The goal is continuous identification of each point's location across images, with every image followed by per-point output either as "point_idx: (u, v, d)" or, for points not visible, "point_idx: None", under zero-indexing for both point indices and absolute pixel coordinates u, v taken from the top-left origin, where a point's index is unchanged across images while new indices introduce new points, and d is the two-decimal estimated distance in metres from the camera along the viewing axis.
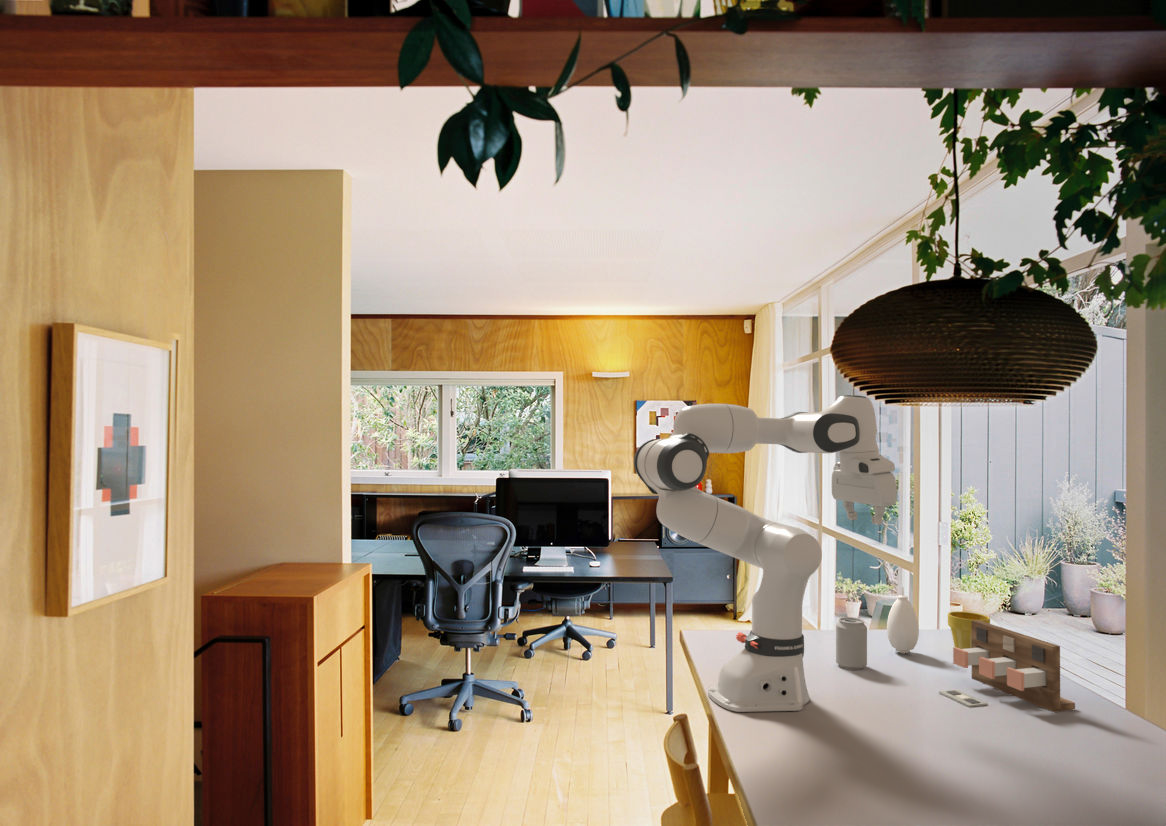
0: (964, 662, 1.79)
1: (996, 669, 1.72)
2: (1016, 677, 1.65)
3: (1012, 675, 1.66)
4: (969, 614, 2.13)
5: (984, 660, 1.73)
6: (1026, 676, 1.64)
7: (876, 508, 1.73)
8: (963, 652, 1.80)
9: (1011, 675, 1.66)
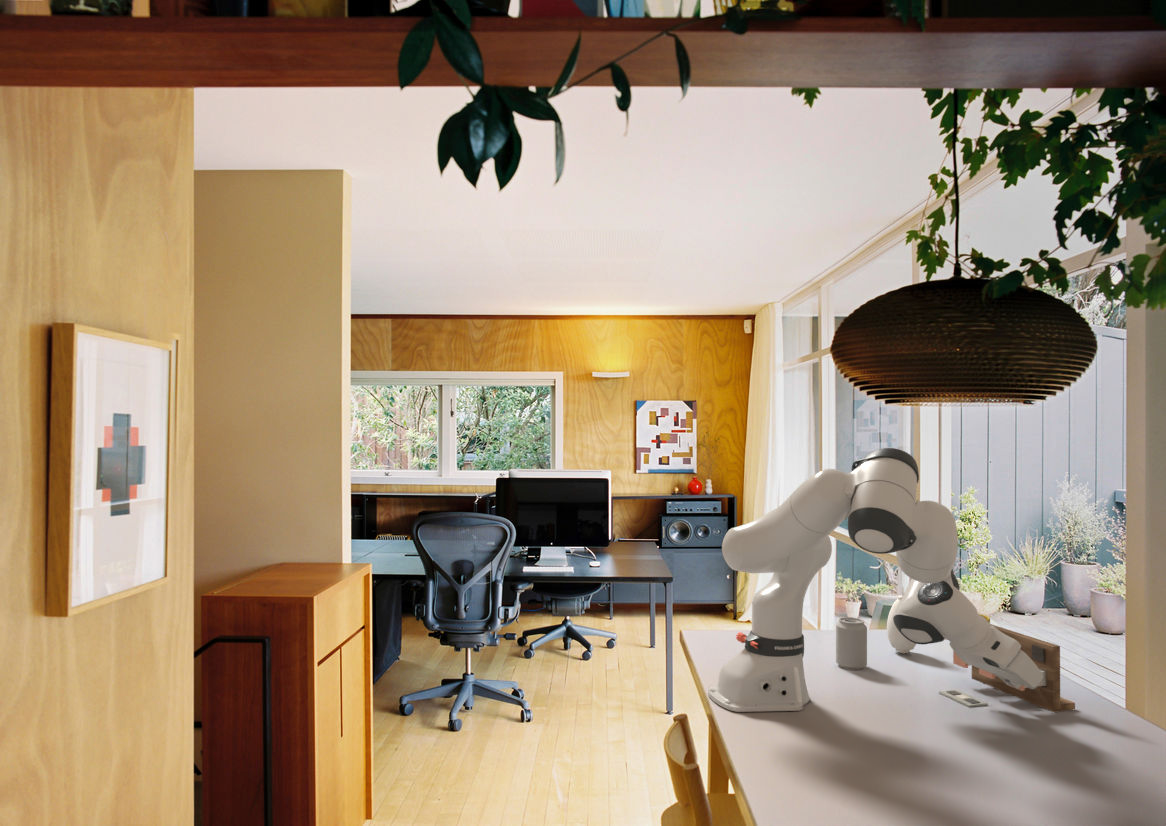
0: (964, 662, 1.79)
1: None
2: None
3: None
4: None
5: None
6: None
7: None
8: None
9: None
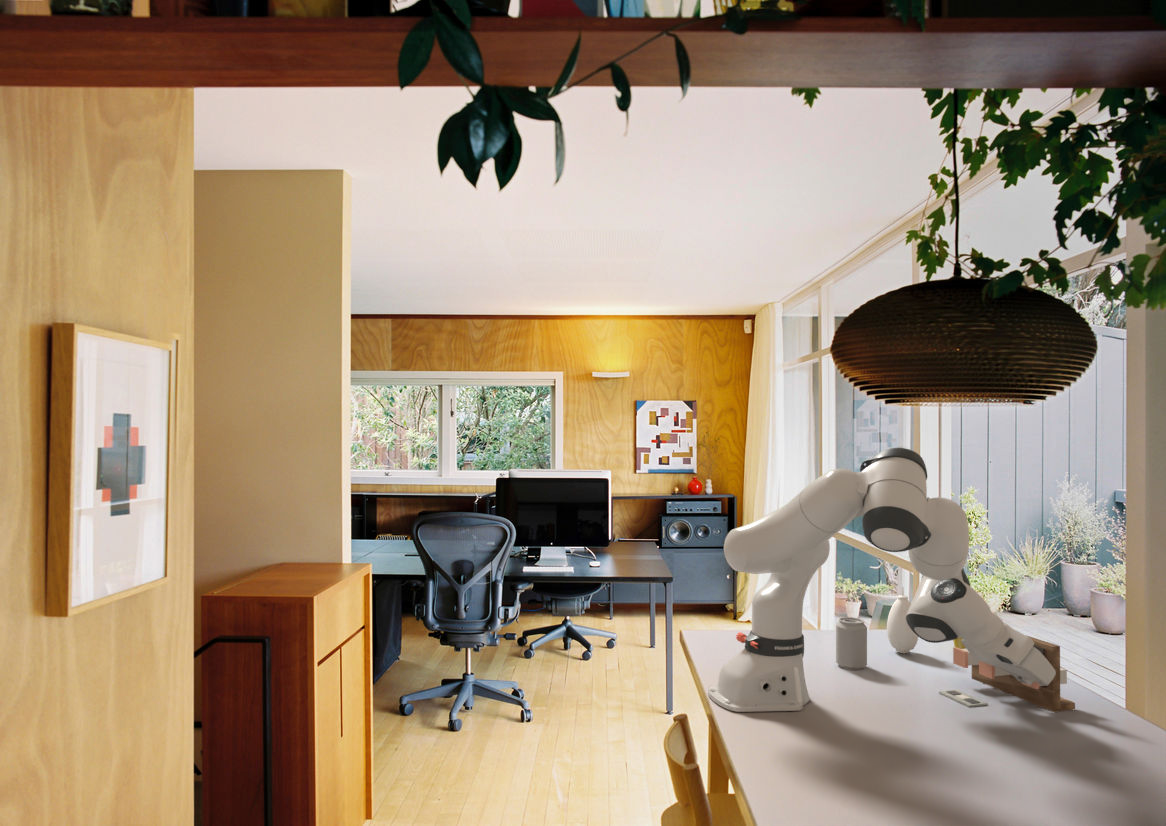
0: (964, 662, 1.79)
1: (996, 669, 1.72)
2: None
3: None
4: None
5: None
6: None
7: None
8: (963, 652, 1.80)
9: None
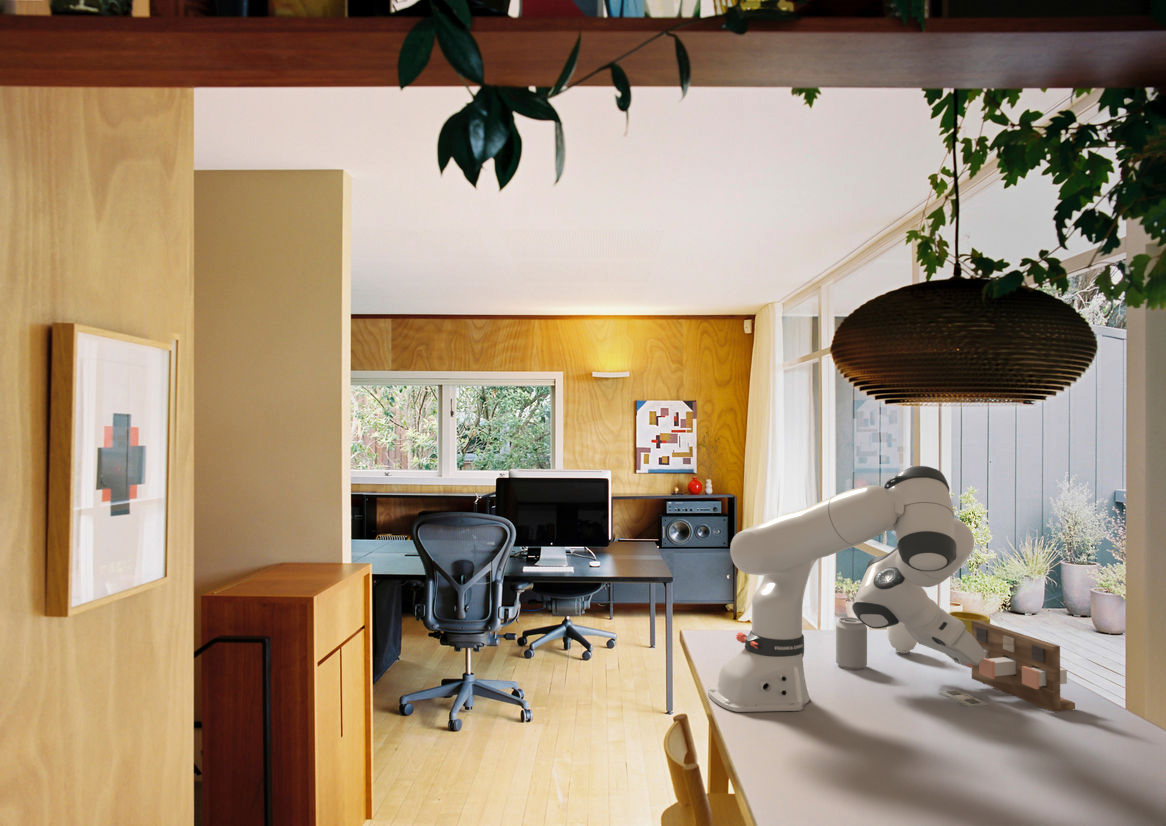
0: None
1: (996, 669, 1.72)
2: (1031, 676, 1.66)
3: (1027, 674, 1.67)
4: (969, 614, 2.13)
5: (984, 660, 1.73)
6: (1041, 675, 1.66)
7: None
8: None
9: (1026, 674, 1.67)
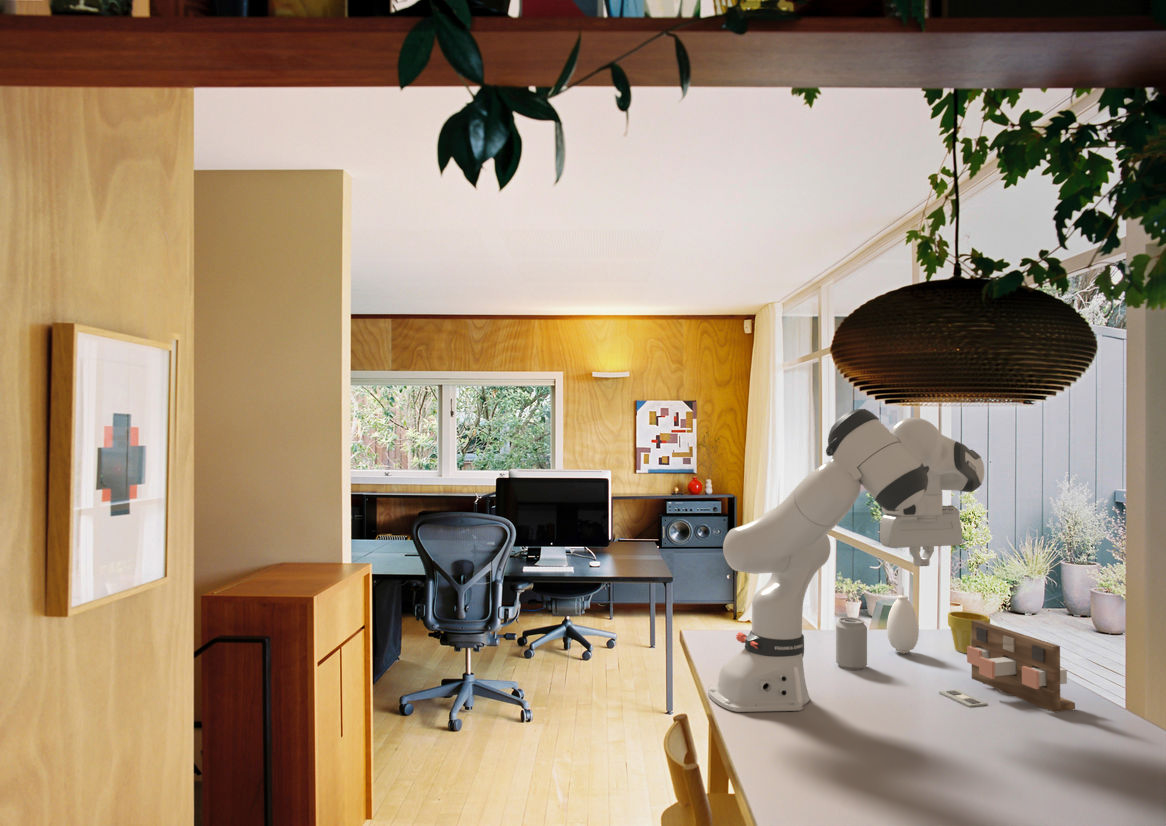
0: (978, 661, 1.80)
1: (996, 669, 1.72)
2: (1031, 676, 1.66)
3: (1027, 674, 1.67)
4: (969, 614, 2.13)
5: (984, 660, 1.73)
6: (1041, 675, 1.66)
7: None
8: (977, 651, 1.81)
9: (1026, 674, 1.67)
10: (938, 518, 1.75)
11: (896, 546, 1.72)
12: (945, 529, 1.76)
